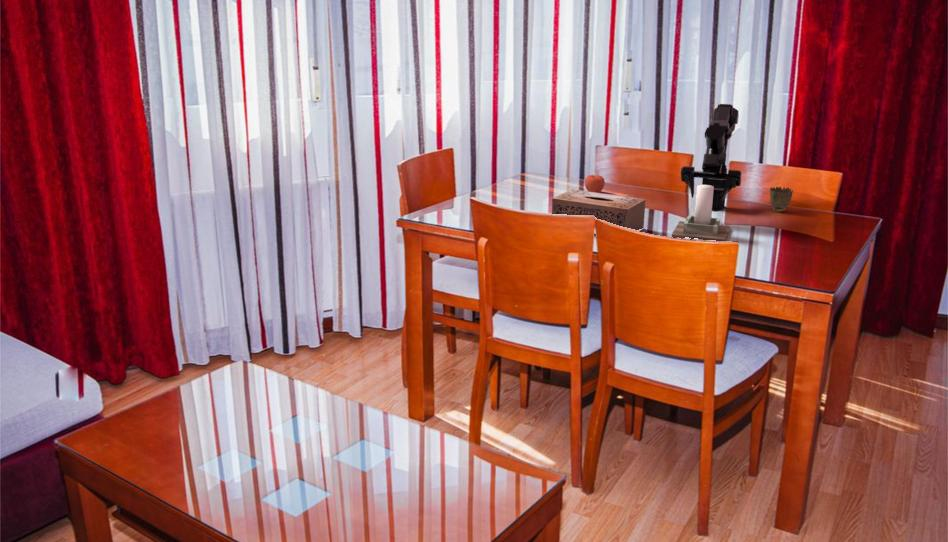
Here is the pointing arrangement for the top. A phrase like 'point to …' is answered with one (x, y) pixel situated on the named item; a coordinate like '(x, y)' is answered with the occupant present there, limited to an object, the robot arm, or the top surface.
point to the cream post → (703, 204)
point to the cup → (780, 198)
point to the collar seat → (701, 230)
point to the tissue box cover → (602, 207)
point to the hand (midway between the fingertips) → (707, 198)
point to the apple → (594, 183)
